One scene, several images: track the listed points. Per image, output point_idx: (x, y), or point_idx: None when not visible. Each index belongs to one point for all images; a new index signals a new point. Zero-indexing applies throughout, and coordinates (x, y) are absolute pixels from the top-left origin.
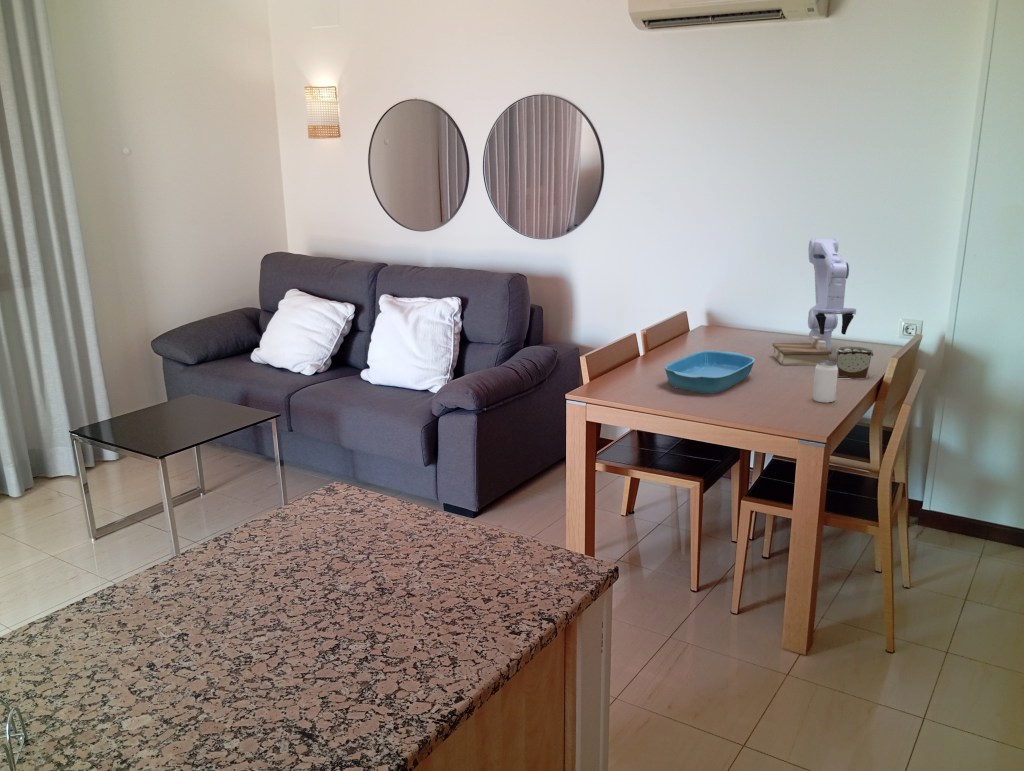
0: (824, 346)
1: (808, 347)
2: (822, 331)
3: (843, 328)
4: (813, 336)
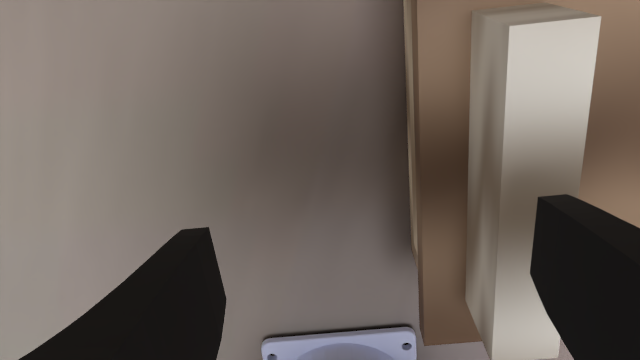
0: (507, 15)
1: (615, 152)
2: (598, 211)
3: (190, 318)
4: (539, 351)
